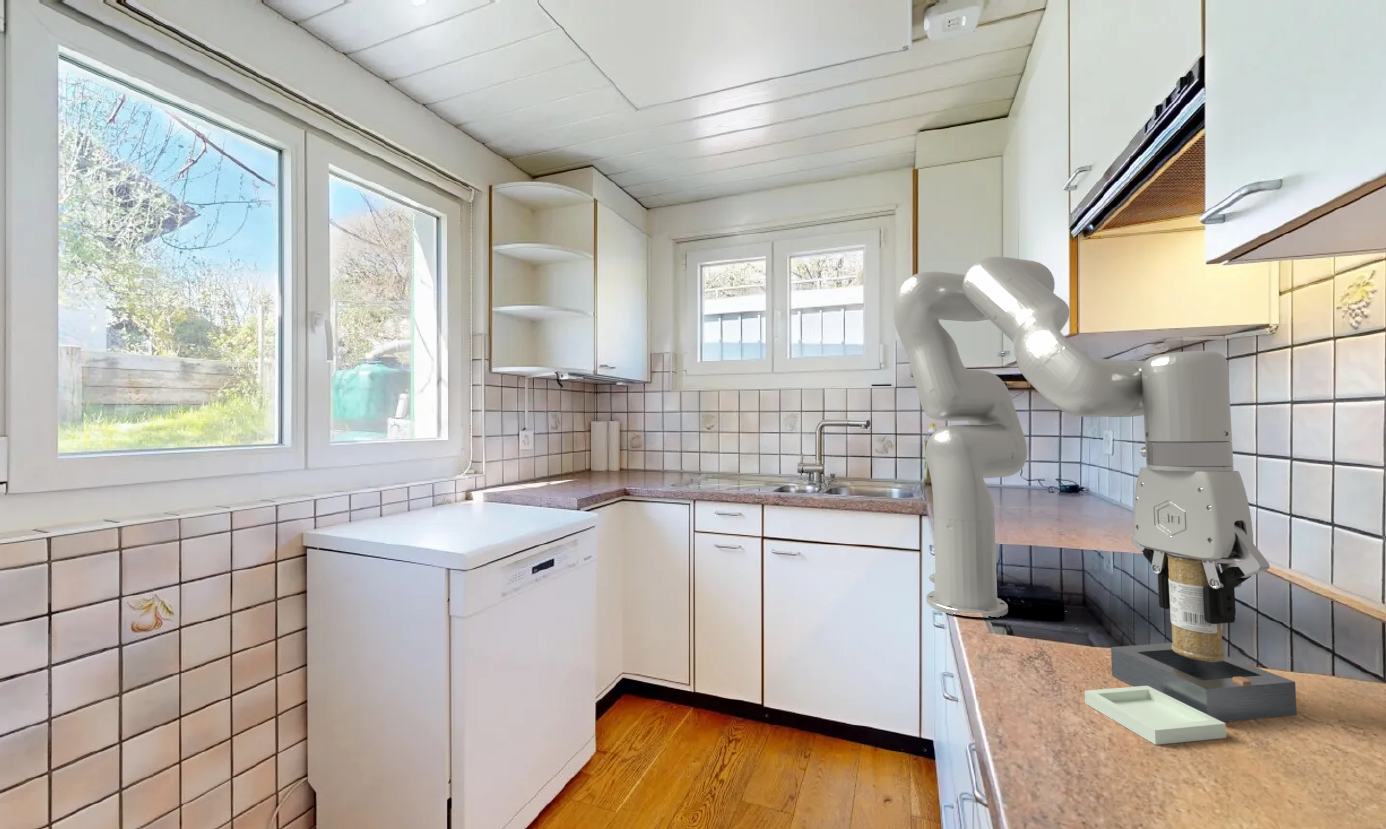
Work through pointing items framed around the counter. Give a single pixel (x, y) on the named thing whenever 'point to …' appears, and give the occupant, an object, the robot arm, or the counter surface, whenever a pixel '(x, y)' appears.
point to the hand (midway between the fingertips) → (1195, 613)
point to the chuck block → (1206, 682)
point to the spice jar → (1191, 612)
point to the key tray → (1155, 715)
